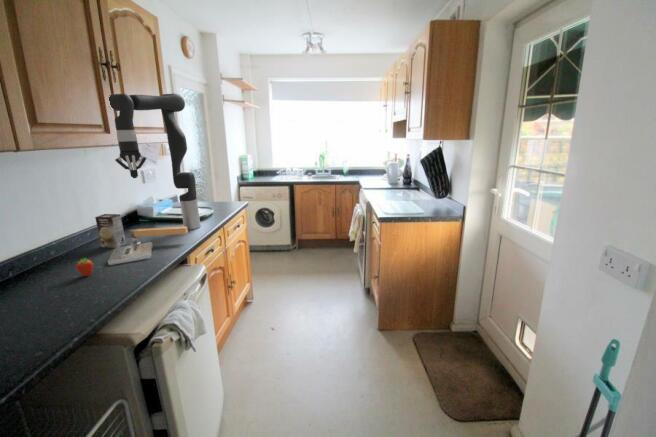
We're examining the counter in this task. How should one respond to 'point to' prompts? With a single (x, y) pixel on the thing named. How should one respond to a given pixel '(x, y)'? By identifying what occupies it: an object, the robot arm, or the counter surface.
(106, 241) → the coffee box
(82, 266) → the fruit
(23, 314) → the counter surface
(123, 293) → the counter surface
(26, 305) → the counter surface
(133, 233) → the swing arm
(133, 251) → the plate
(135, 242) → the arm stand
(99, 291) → the counter surface
